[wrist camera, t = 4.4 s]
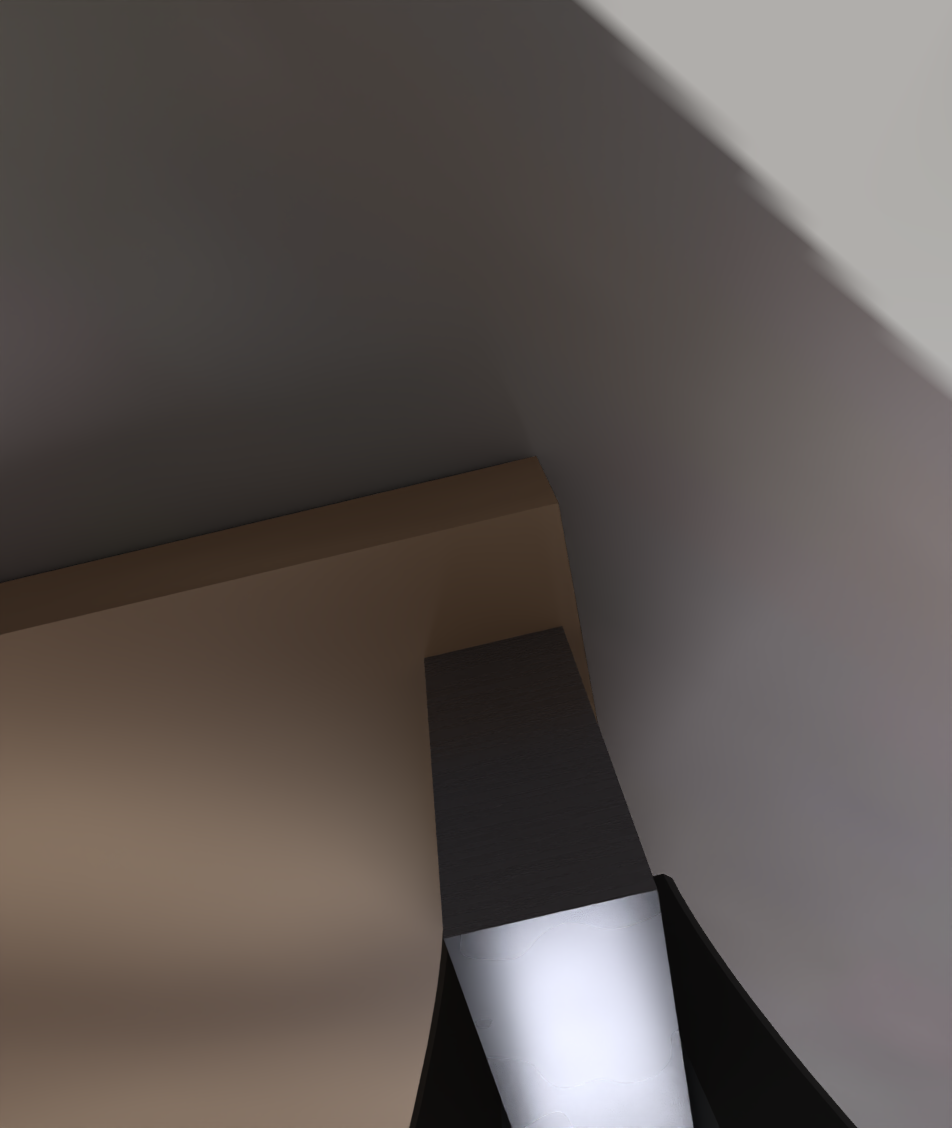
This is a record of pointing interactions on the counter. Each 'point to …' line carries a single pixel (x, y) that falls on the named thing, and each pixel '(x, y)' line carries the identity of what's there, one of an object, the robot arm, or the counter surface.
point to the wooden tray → (321, 828)
